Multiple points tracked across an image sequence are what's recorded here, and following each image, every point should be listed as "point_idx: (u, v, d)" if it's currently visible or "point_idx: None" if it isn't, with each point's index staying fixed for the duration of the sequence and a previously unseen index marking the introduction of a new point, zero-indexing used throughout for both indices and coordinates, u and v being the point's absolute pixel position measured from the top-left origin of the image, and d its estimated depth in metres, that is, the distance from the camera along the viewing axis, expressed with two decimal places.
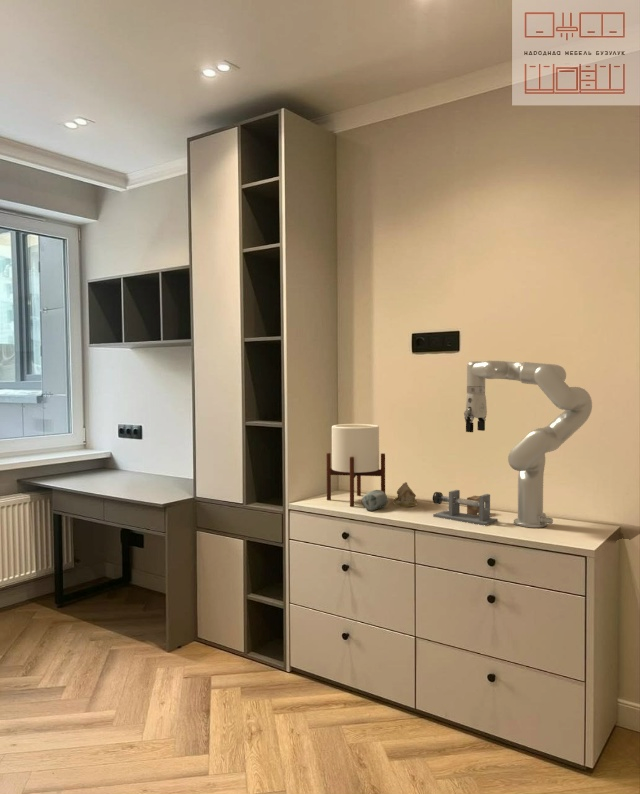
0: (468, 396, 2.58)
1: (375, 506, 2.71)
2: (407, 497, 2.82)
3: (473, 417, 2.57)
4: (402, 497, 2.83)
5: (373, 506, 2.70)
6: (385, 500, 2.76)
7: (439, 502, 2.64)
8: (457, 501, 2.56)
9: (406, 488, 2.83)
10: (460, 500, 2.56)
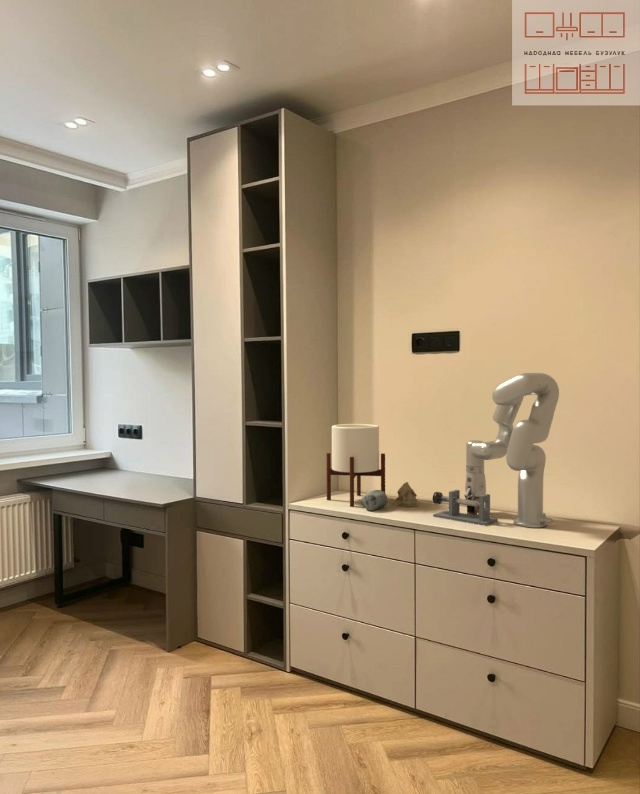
0: (467, 475, 2.63)
1: (375, 506, 2.71)
2: (409, 497, 2.82)
3: (473, 497, 2.62)
4: (404, 497, 2.83)
5: (373, 506, 2.70)
6: (385, 500, 2.76)
7: (439, 502, 2.64)
8: (457, 501, 2.56)
9: (408, 488, 2.83)
10: (460, 500, 2.56)
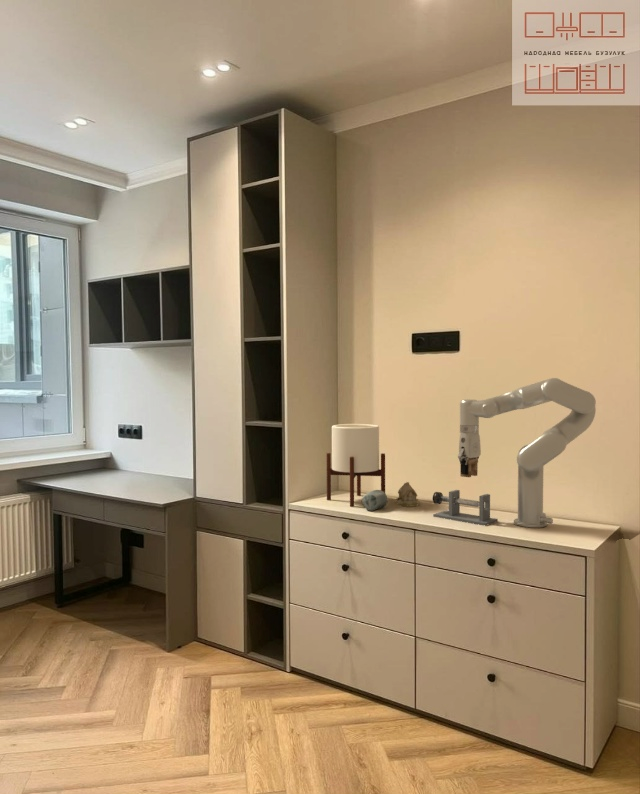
0: (461, 436, 2.51)
1: (375, 506, 2.71)
2: (410, 497, 2.82)
3: (467, 458, 2.50)
4: (405, 497, 2.83)
5: (373, 506, 2.70)
6: (385, 500, 2.76)
7: (439, 502, 2.64)
8: (457, 501, 2.56)
9: (409, 488, 2.83)
10: (460, 500, 2.56)
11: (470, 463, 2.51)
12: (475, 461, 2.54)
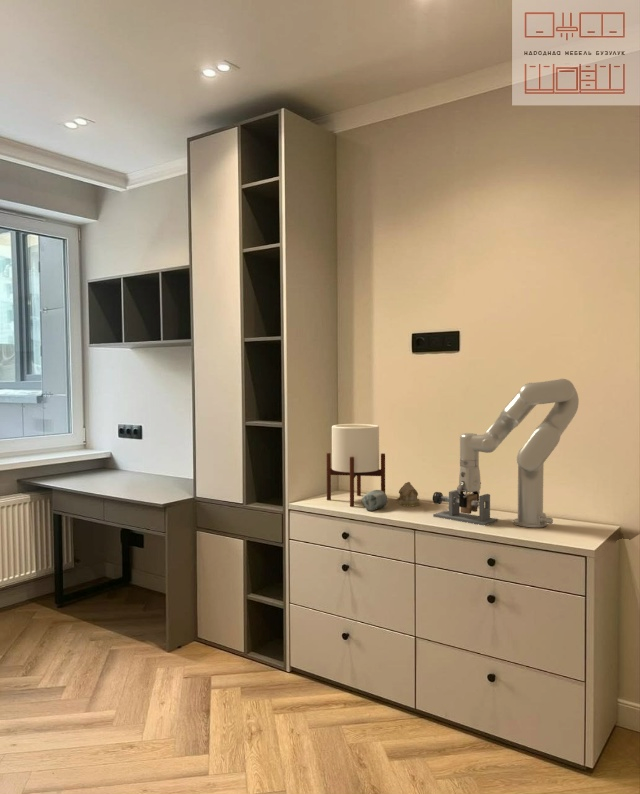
0: (461, 470, 2.51)
1: (375, 506, 2.71)
2: (412, 496, 2.83)
3: (466, 492, 2.50)
4: (406, 497, 2.84)
5: (373, 506, 2.70)
6: (385, 500, 2.76)
7: (439, 502, 2.64)
8: (457, 501, 2.56)
9: (410, 488, 2.84)
10: None
11: (470, 499, 2.51)
12: (475, 497, 2.54)
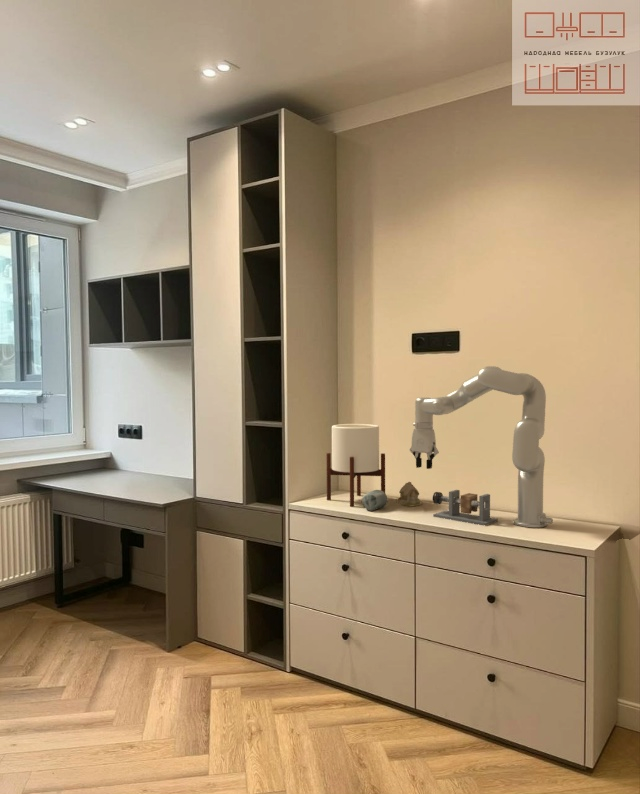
0: None
1: (375, 506, 2.71)
2: (413, 496, 2.83)
3: (416, 452, 2.70)
4: (408, 496, 2.84)
5: (373, 506, 2.70)
6: (385, 500, 2.76)
7: (439, 502, 2.64)
8: (457, 501, 2.56)
9: (411, 487, 2.84)
10: (460, 500, 2.56)
11: (470, 499, 2.51)
12: (475, 497, 2.54)
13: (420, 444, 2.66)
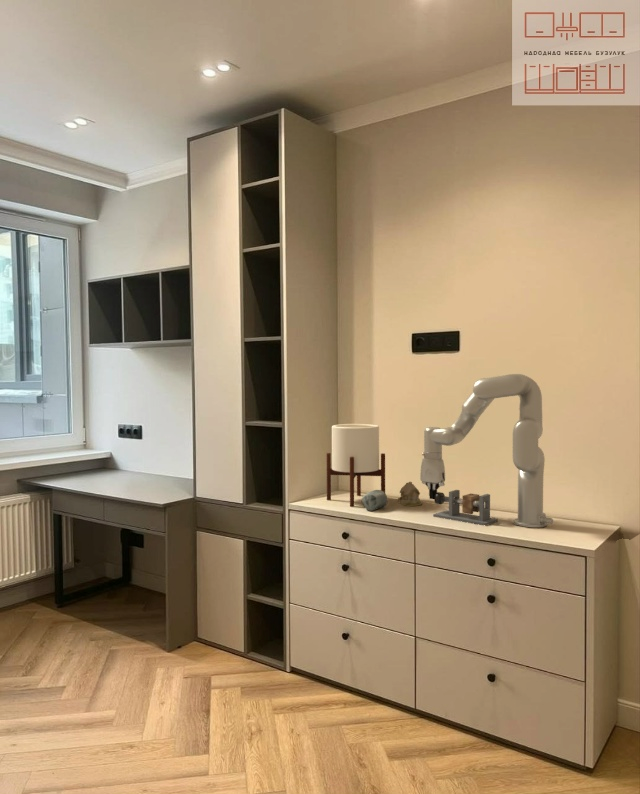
0: None
1: (375, 506, 2.71)
2: (414, 496, 2.84)
3: (428, 483, 2.66)
4: (409, 496, 2.84)
5: (373, 506, 2.70)
6: (385, 500, 2.76)
7: (441, 502, 2.63)
8: (459, 501, 2.56)
9: (412, 487, 2.85)
10: (462, 500, 2.55)
11: (472, 500, 2.50)
12: (477, 497, 2.53)
13: (429, 474, 2.64)
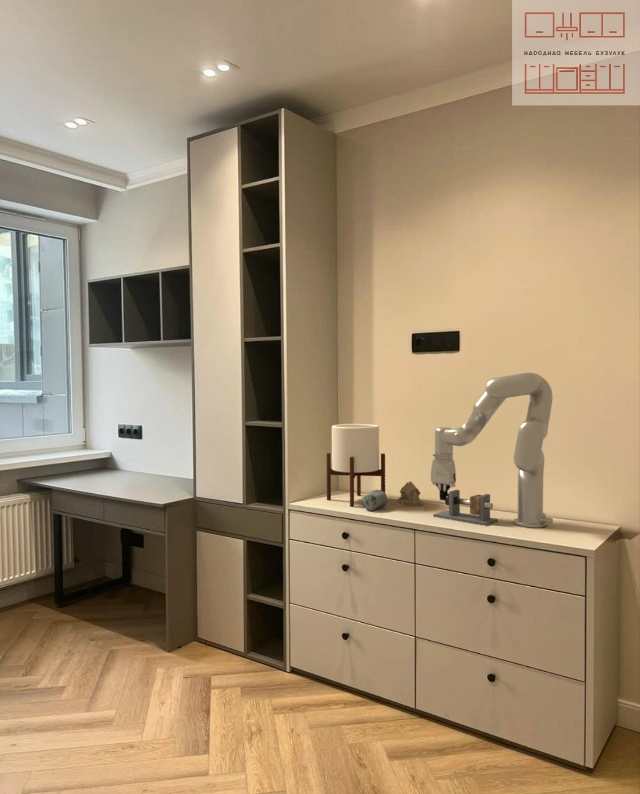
0: None
1: (375, 506, 2.71)
2: (414, 496, 2.84)
3: (438, 484, 2.62)
4: (409, 496, 2.85)
5: (373, 506, 2.70)
6: (385, 500, 2.76)
7: None
8: None
9: (413, 487, 2.85)
10: None
11: None
12: None
13: (440, 475, 2.60)
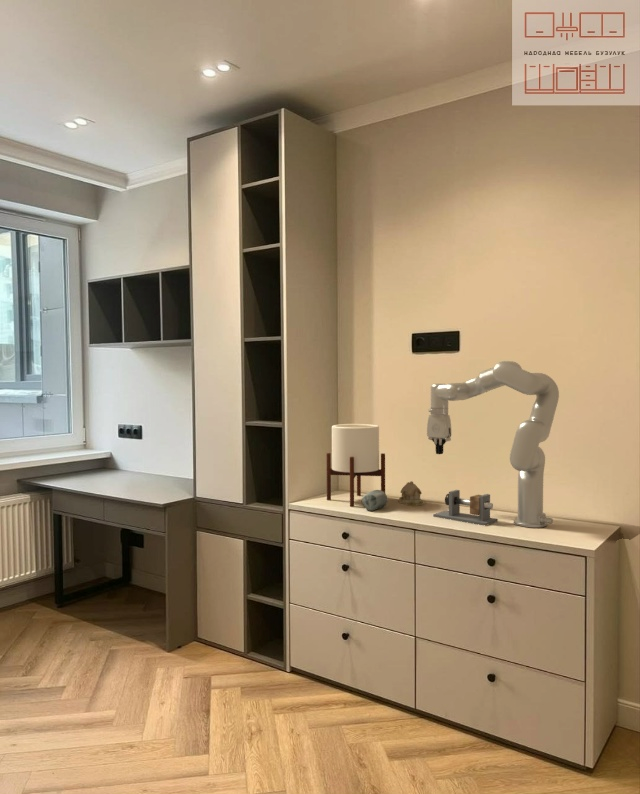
0: None
1: (375, 506, 2.71)
2: (416, 496, 2.84)
3: (434, 438, 2.70)
4: (411, 496, 2.85)
5: (373, 506, 2.70)
6: (385, 500, 2.76)
7: None
8: None
9: (414, 487, 2.85)
10: None
11: None
12: None
13: (436, 430, 2.68)
